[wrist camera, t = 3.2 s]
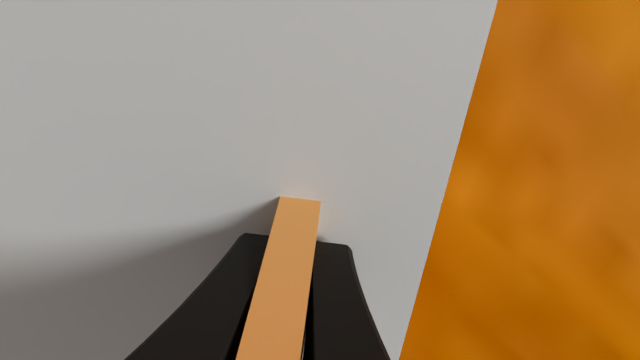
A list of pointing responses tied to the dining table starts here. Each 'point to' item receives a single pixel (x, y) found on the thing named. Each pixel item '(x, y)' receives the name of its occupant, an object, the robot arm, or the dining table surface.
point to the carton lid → (220, 159)
